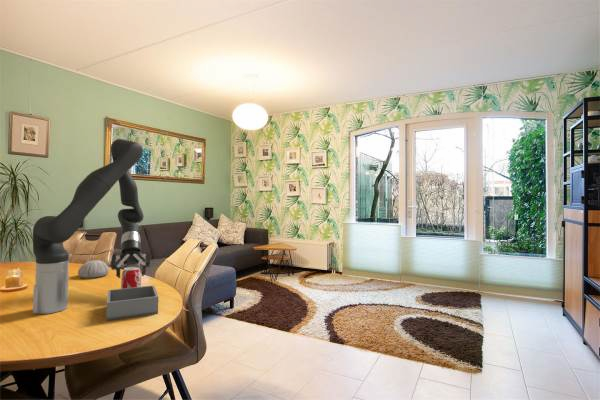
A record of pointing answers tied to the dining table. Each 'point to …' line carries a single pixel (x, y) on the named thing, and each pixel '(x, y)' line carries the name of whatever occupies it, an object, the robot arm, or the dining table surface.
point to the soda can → (131, 277)
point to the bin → (131, 302)
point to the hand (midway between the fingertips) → (131, 276)
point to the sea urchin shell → (93, 269)
